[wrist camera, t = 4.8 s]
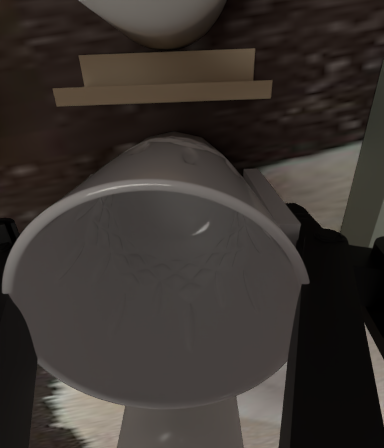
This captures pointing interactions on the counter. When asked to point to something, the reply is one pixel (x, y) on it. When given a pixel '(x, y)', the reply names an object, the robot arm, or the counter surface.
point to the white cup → (158, 280)
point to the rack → (166, 78)
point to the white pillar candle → (159, 20)
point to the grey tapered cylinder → (182, 427)
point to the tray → (368, 181)
